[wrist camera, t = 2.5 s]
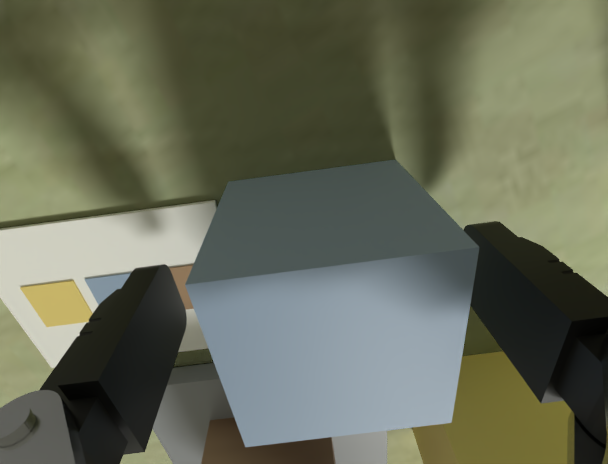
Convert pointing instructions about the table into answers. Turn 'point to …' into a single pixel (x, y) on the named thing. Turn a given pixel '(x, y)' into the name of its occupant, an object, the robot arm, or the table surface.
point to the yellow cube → (496, 420)
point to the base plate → (214, 405)
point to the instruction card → (95, 268)
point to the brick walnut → (261, 448)
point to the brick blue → (334, 303)
